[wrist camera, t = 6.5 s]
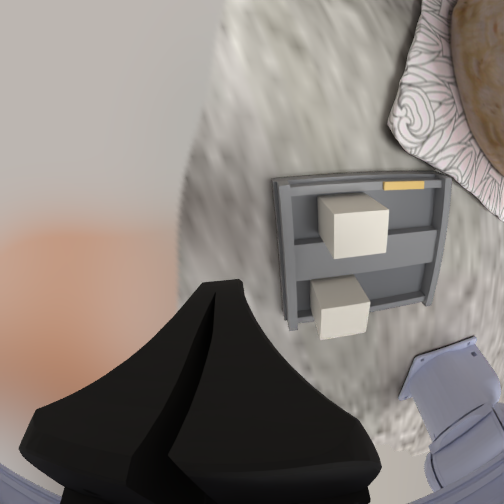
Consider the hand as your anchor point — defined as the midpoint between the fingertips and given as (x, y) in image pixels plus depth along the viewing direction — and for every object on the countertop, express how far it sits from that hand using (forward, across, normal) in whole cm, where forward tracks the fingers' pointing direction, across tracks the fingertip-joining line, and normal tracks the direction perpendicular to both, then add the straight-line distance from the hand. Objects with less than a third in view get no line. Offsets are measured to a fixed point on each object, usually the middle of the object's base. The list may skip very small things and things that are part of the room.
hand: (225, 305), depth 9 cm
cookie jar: (+10, -25, -10) cm, 29 cm away
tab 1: (+8, -6, 0) cm, 10 cm away
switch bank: (+9, -8, +3) cm, 13 cm away
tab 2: (+8, -6, +6) cm, 11 cm away
